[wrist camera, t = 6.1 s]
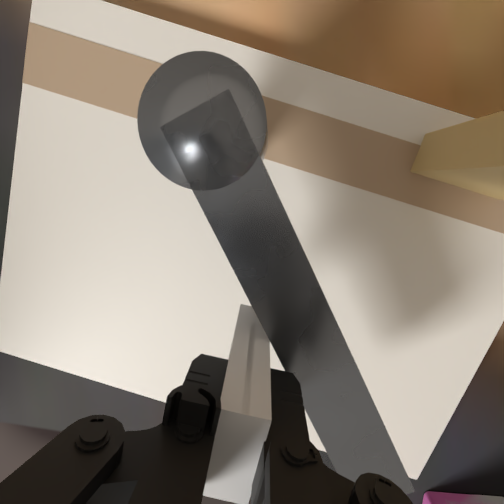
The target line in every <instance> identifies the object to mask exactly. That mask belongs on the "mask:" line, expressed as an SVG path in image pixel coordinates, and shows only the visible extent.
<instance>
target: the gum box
mask: <svg viewBox="0 0 504 504" xmlns="http://www.w3.org/2000/svg"><path fill="white" fill-rule="evenodd" d="M422 504H504V497H502V496H488V495H469V494H457V493H445V492H433V491H427V492H425V493H424V498H423V503H422Z"/></svg>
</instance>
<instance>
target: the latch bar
mask: <svg viewBox="0 0 504 504" xmlns="http://www.w3.org/2000/svg"><path fill="white" fill-rule="evenodd" d="M137 123H138V132H139V137H140V140H141V144H142V147H143V149H144V151H145V153H146V155H147V157H148V158H149V160H150V162H151V163H152V164H153V165H154V167H155V168H156V169H157V170H158V171H159V172H160V173H161V174H162V175H163V176H165V177H166V178H167V179H168V180H170V181H172V182H173V183H175V184H177V185H180V186H182V187H185V188H188V189H192V191H193V193H194V195H195V197H196V198H197V200H198V202H199V204H200V206H201V208H202V210H203V212H204V214H205V216H206V218H207V220H208V222H209V224H210V226H211V228H212V230H213V232H214V234H215V235H216V237H217V239H218V241H219V243H220V245H221V247H222V249H223V251H224V253H225V255H226V257H227V259H228V261H229V263H230V265H231V267H232V269H233V271H234V272H235V274H236V276H237V278H238V280H239V282H240V284H241V286H242V288H243V290H244V292H245V294H246V296H247V298H248V300H249V302H250V304H251V306H252V308H253V309H254V311H255V313H256V315H257V317H258V319H259V321H260V323H261V325H262V327H263V329H264V331H265V333H266V335H267V337H268V339H269V341H270V343H271V345H272V346H273V348H274V350H275V352H276V354H277V356H278V358H279V360H280V362H281V364H282V366H283V368H284V370H285V371H286V372H290V373H293V374H294V375H295V377H296V378H297V380H298V381H299V383H300V385H301V391H302V397H303V403H304V404H303V406H304V409H305V411H306V413H307V415H308V417H309V419H310V421H311V422H312V424H313V426H314V428H315V430H316V432H317V434H318V436H319V438H320V440H321V442H322V444H323V446H324V448H325V450H326V452H327V454H328V456H329V458H330V459H331V461H332V463H333V465H334V467H335V469H336V471H337V473H338V474H340V475H342V476H343V477H345V478H347V479H349V480H351V481H353V482H355V481H356V480H357V479H358V477H359V476H360V475H361V474H365V473H375V474H379V475H381V476H383V477H385V478H387V479H389V480H391V481H392V482H393V483H395V484H396V485H397V486H398V487H400V488H401V489H402V491H403V492H404V493H405V494H409V493H413V492H415V490H414V488H413V486H412V484H411V482H410V479H409V477H408V475H407V473H406V471H405V469H404V466H403V464H402V462H401V460H400V458H399V455H398V453H397V451H396V449H395V447H394V444H393V442H392V440H391V438H390V436H389V434H388V431H387V429H386V427H385V425H384V423H383V420H382V418H381V416H380V414H379V412H378V410H377V407H376V405H375V403H374V401H373V399H372V397H371V394H370V392H369V390H368V388H367V386H366V384H365V381H364V379H363V377H362V375H361V373H360V371H359V369H358V366H357V364H356V362H355V360H354V358H353V356H352V353H351V351H350V349H349V347H348V345H347V343H346V340H345V338H344V336H343V334H342V332H341V330H340V327H339V325H338V323H337V321H336V319H335V317H334V314H333V312H332V310H331V308H330V306H329V304H328V301H327V299H326V297H325V295H324V293H323V291H322V288H321V286H320V284H319V282H318V280H317V278H316V275H315V273H314V271H313V269H312V267H311V265H310V262H309V260H308V258H307V256H306V254H305V252H304V250H303V247H302V245H301V243H300V241H299V239H298V237H297V234H296V232H295V230H294V228H293V226H292V224H291V221H290V219H289V217H288V215H287V213H286V211H285V208H284V206H283V204H282V202H281V200H280V198H279V195H278V193H277V191H276V189H275V187H274V185H273V182H272V180H271V178H270V176H269V174H268V172H267V169H266V167H265V165H264V163H263V160H264V157H265V155H266V151H267V147H268V127H267V117H266V109H265V104H264V100H263V98H262V95H261V92H260V90H259V88H258V86H257V84H256V83H255V81H254V80H253V78H252V77H251V76H250V75H249V73H248V72H247V71H246V70H245V69H244V68H243V67H242V66H240V65H239V64H238V63H237V62H235V61H233V60H232V59H230V58H228V57H226V56H224V55H221V54H218V53H215V52H209V51H191V52H186V53H183V54H180V55H177V56H175V57H173V58H171V59H169V60H168V61H166V62H165V63H163V64H162V65H161V66H160V67H159V68H158V69H157V70H156V71H155V72H154V73H153V74H152V76H151V77H150V78H149V80H148V82H147V83H146V85H145V87H144V89H143V92H142V94H141V97H140V101H139V106H138V114H137Z"/></svg>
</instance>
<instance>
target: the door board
mask: <svg viewBox="0 0 504 504" xmlns="http://www.w3.org/2000/svg"><path fill="white" fill-rule="evenodd" d="M191 51H209V52H215V53H218V54H221V55H224V56H226V57H228V58H230V59H232V60H233V61H235V62H237V63H238V64H239V65H240V66H242V67H243V68H244V69H245V70H246V71H247V72H248V73H249V75H250V76H251V77H252V78H253V80H254V81H255V83H256V84H257V86H258V88H259V90H260V92H261V95H262V98H263V100H264V104H265V109H266V117H267V127H268V147H267V151H266V155H265V157H264V160H263V163H264V165H265V167H266V169H267V172H268V174H269V176H270V178H271V180H272V182H273V185H274V187H275V189H276V191H277V193H278V195H279V198H280V200H281V202H282V204H283V206H284V208H285V211H286V213H287V215H288V217H289V219H290V221H291V224H292V226H293V228H294V230H295V232H296V234H297V237H298V239H299V241H300V243H301V245H302V247H303V250H304V252H305V254H306V256H307V258H308V260H309V262H310V265H311V267H312V269H313V271H314V273H315V275H316V278H317V280H318V282H319V284H320V286H321V288H322V291H323V293H324V295H325V297H326V299H327V301H328V304H329V306H330V308H331V310H332V312H333V314H334V317H335V319H336V321H337V323H338V325H339V327H340V330H341V332H342V334H343V336H344V338H345V340H346V343H347V345H348V347H349V349H350V351H351V353H352V356H353V358H354V360H355V362H356V364H357V366H358V369H359V371H360V373H361V375H362V377H363V379H364V381H365V384H366V386H367V388H368V390H369V392H370V394H371V397H372V399H373V401H374V403H375V405H376V407H377V410H378V412H379V414H380V416H381V418H382V420H383V423H384V425H385V427H386V429H387V431H388V434H389V436H390V438H391V440H392V442H393V444H394V447H395V449H396V451H397V453H398V455H399V458H400V460H401V462H402V464H403V466H404V469H405V471H406V473H407V475H408V477H409V478H412V479H416V480H417V479H418V477H419V475H420V473H421V471H422V470H423V468H424V466H425V464H426V462H427V460H428V459H429V457H430V455H431V453H432V451H433V449H434V448H435V446H436V444H437V442H438V440H439V438H440V437H441V435H442V433H443V431H444V429H445V427H446V426H447V424H448V422H449V420H450V418H451V416H452V415H453V413H454V411H455V409H456V407H457V405H458V404H459V402H460V400H461V398H462V396H463V394H464V393H465V391H466V389H467V387H468V385H469V383H470V382H471V380H472V378H473V376H474V374H475V372H476V371H477V369H478V367H479V365H480V363H481V361H482V360H483V358H484V356H485V354H486V352H487V351H488V349H489V347H490V345H491V343H492V341H493V340H494V338H495V336H496V334H497V332H498V330H499V329H500V327H501V325H502V323H503V321H504V110H503V111H500V112H497V113H493V114H490V115H487V116H483V117H480V118H477V119H475V118H472V117H469V116H466V115H463V114H460V113H456V112H453V111H450V110H447V109H444V108H441V107H437V106H434V105H431V104H428V103H425V102H422V101H418V100H415V99H412V98H409V97H406V96H403V95H400V94H396V93H393V92H390V91H387V90H384V89H381V88H377V87H374V86H371V85H368V84H365V83H362V82H358V81H355V80H352V79H349V78H346V77H343V76H339V75H336V74H333V73H330V72H327V71H324V70H320V69H317V68H314V67H311V66H308V65H305V64H301V63H298V62H295V61H292V60H289V59H286V58H282V57H279V56H276V55H273V54H270V53H267V52H263V51H260V50H257V49H254V48H251V47H248V46H244V45H241V44H238V43H235V42H232V41H229V40H225V39H222V38H219V37H216V36H213V35H210V34H206V33H203V32H200V31H197V30H194V29H191V28H187V27H184V26H181V25H178V24H175V23H172V22H168V21H165V20H162V19H159V18H156V17H153V16H150V15H146V14H143V13H140V12H137V11H134V10H131V9H127V8H124V7H121V6H118V5H115V4H112V3H108V2H105V1H102V0H32V7H31V16H30V22H29V28H28V37H27V46H26V54H25V63H24V72H23V81H22V83H23V86H22V95H21V104H20V113H19V121H18V130H17V139H16V148H15V157H14V165H13V174H12V183H11V192H10V201H9V209H8V218H7V227H6V236H5V245H4V253H3V262H2V271H1V280H0V352H3V353H7V354H10V355H13V356H16V357H20V358H23V359H26V360H29V361H33V362H36V363H39V364H42V365H46V366H49V367H52V368H55V369H59V370H62V371H65V372H68V373H71V374H75V375H78V376H81V377H84V378H88V379H91V380H94V381H97V382H101V383H104V384H107V385H110V386H114V387H117V388H120V389H123V390H127V391H130V392H133V393H136V394H140V395H143V396H146V397H149V398H153V399H156V400H159V401H162V402H166V400H167V396H168V395H169V393H170V392H171V391H172V390H173V389H175V388H177V387H178V386H180V385H183V382H184V381H185V377H186V375H187V373H188V370H189V368H190V365H191V363H192V361H193V360H194V359H195V358H196V357H198V356H199V355H200V354H205V355H210V356H214V357H219V358H223V359H228V357H229V352H230V348H231V344H232V339H233V335H234V330H235V326H236V322H237V317H238V313H239V309H240V304H244V305H249V306H251V304H250V302H249V300H248V298H247V296H246V294H245V292H244V290H243V288H242V286H241V284H240V282H239V280H238V278H237V276H236V274H235V272H234V271H233V269H232V267H231V265H230V263H229V261H228V259H227V257H226V255H225V253H224V251H223V249H222V247H221V245H220V243H219V241H218V239H217V237H216V235H215V234H214V232H213V230H212V228H211V226H210V224H209V222H208V220H207V218H206V216H205V214H204V212H203V210H202V208H201V206H200V204H199V202H198V200H197V198H196V197H195V195H194V193H193V191H192V189H188V188H185V187H182V186H180V185H177V184H175V183H173V182H172V181H170V180H168V179H167V178H166V177H165V176H163V175H162V174H161V173H160V172H159V171H158V170H157V169H156V168H155V167H154V165H153V164H152V163H151V162H150V160H149V158H148V157H147V155H146V153H145V151H144V149H143V147H142V144H141V140H140V137H139V132H138V123H137V114H138V106H139V101H140V97H141V94H142V92H143V89H144V87H145V85H146V83H147V82H148V80H149V78H150V77H151V76H152V74H153V73H154V72H155V71H156V70H157V69H158V68H159V67H160V66H161V65H162V64H163V63H165V62H166V61H168V60H169V59H171V58H173V57H175V56H177V55H180V54H183V53H186V52H191ZM270 368H272V369H277V370H281V371H285V370H284V368H283V366H282V364H281V362H280V360H279V358H278V356H277V354H276V352H275V350H274V348H273V346H272V345H271V343H270ZM305 415H306V421H307V427H308V433H309V439H310V442H312V444H313V445H314V446H315V447H316V448H317V449H318V450H321V451H325V452H326V450H325V448H324V446H323V444H322V442H321V440H320V438H319V436H318V434H317V432H316V430H315V428H314V426H313V424H312V422H311V421H310V419H309V417H308V415H307V413H306V411H305Z"/></svg>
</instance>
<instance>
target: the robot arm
mask: <svg viewBox="0 0 504 504" xmlns="http://www.w3.org/2000/svg"><path fill="white" fill-rule="evenodd" d="M303 404H304V403H303V397H302V391H301V385H300V383H299V381H298V380H297V378H296V377H295V375H294V374H293V373H290V372H286V371H281V370H277V369H272V368H270V341H269V339H268V337H267V335H266V333H265V331H264V329H263V327H262V325H261V323H260V321H259V319H258V317H257V315H256V313H255V311H254V309H253V308H252V306H249V305H244V304H240V309H239V313H238V317H237V322H236V326H235V330H234V335H233V339H232V344H231V348H230V352H229V357H228V359H223V358H219V357H214V356H210V355H205V354H200V355H199V356H198V357H196V358H195V359H194V360H193V361H192V363H191V365H190V368H189V370H188V373H187V375H186V377H185V381H184V382H183V385H180V386H178V387H177V388H175V389H173V390H172V391H171V392H170V393H169V395H168V396H167V400H166V405H165V411H164V416H163V422H162V423H161V424H160V425H158V426H156V427H153V428H151V429H147V430H141V431H127V432H125V430H124V428H123V425H122V423H121V422H119V421H118V420H117V419H115V418H114V417H110V416H106V415H92V416H88V417H85V418H82V419H79V420H78V421H76V422H74V423H73V424H71V425H70V426H68V427H67V428H66V429H65V430H63V431H62V432H61V433H60V434H59V435H57V436H56V437H55V438H54V439H53V440H52V441H50V442H49V443H48V444H47V445H45V446H44V447H43V448H42V449H41V450H39V451H38V452H37V453H36V454H35V455H34V456H32V457H31V458H30V459H29V460H27V461H26V462H25V463H24V464H23V465H21V466H20V467H19V468H18V469H17V470H15V471H14V472H13V473H12V474H11V475H9V476H8V477H7V478H6V479H5V480H3V481H2V482H1V483H0V504H201V502H202V497H203V496H208V497H212V498H216V499H220V500H225V501H230V502H234V503H238V504H248V503H249V499H250V496H251V504H413V503H412V502H411V500H410V499H409V498H408V497H407V495H406V494H405V493H404V492H403V491H402V489H401V488H400V487H398V486H397V485H396V484H395V483H393V482H392V481H391V480H389V479H387V478H385V477H383V476H381V475H379V474H375V473H365V474H361V475H360V476H359V477H358V479H357V480H356V481H355V482H353V481H351V480H349V479H347V478H345V477H343V476H342V475H340V474H338V473H336V472H334V471H333V470H331V469H329V468H328V467H327V466H326V465H325V464H323V461H322V458H321V456H320V453H319V451H318V450H317V448H316V447H315V446H314V445H313V444H312V442H310V439H309V433H308V427H307V421H306V415H305V409H304V406H303Z"/></svg>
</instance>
